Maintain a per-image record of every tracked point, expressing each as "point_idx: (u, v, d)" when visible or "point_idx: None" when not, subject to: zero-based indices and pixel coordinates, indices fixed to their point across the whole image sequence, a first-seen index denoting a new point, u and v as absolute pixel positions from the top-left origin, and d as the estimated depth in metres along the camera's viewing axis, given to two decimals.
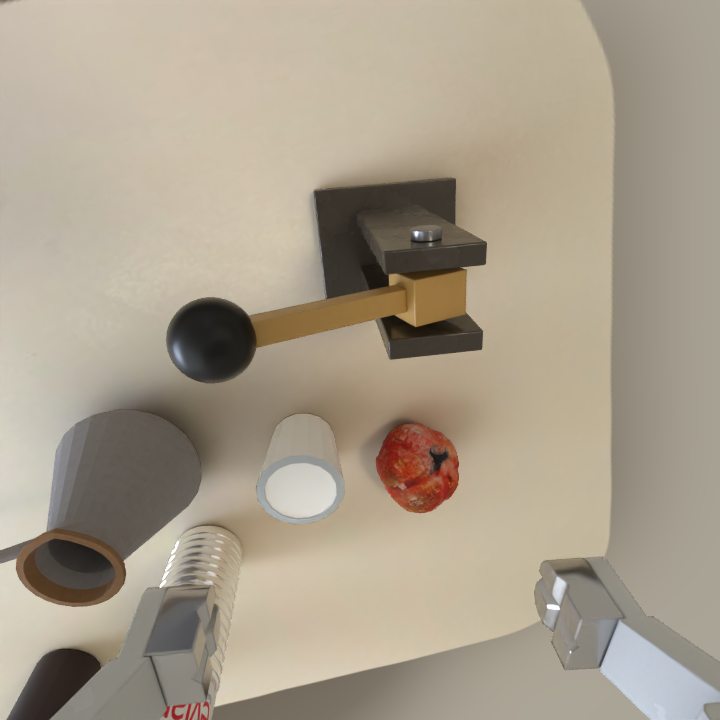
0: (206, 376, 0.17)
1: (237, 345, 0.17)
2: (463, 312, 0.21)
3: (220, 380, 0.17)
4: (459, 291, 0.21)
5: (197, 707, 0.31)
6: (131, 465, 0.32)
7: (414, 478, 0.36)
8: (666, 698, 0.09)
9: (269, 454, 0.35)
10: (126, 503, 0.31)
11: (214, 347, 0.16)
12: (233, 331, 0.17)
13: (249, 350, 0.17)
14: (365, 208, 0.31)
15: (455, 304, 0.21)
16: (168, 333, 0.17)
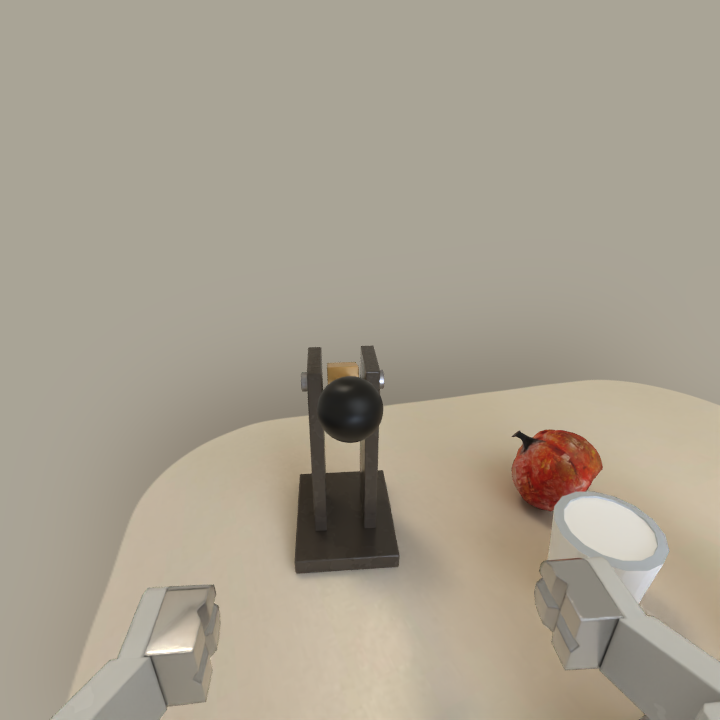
0: (367, 386, 0.22)
1: None
2: (353, 362, 0.34)
3: (374, 387, 0.23)
4: None
5: None
6: None
7: (551, 448, 0.38)
8: (666, 698, 0.09)
9: None
10: None
11: (343, 378, 0.23)
12: None
13: None
14: (314, 524, 0.37)
15: (347, 363, 0.34)
16: (336, 412, 0.21)
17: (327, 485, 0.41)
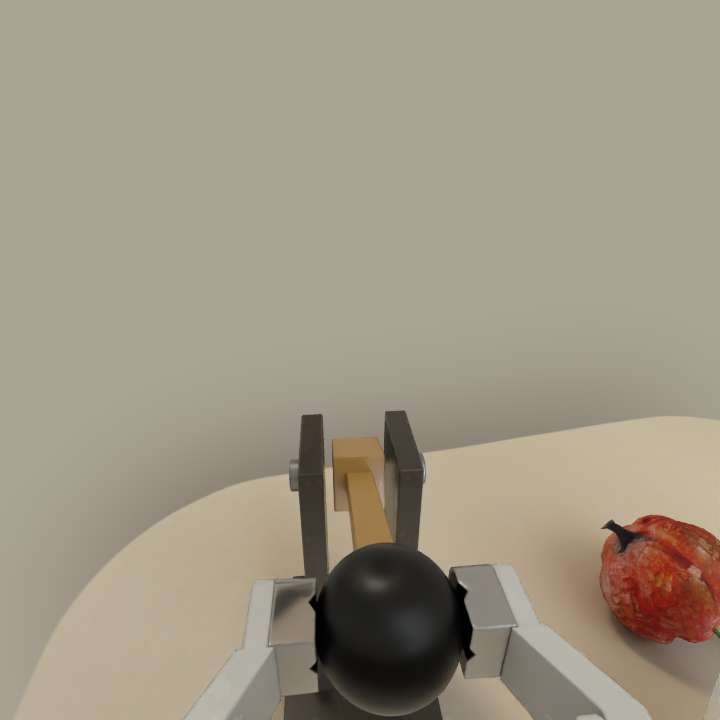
0: (431, 583, 0.10)
1: (376, 543, 0.11)
2: (374, 437, 0.21)
3: (442, 575, 0.10)
4: (352, 439, 0.21)
5: None
6: None
7: (669, 555, 0.25)
8: (554, 709, 0.09)
9: None
10: None
11: (372, 558, 0.10)
12: (354, 550, 0.11)
13: None
14: None
15: (365, 440, 0.21)
16: (361, 667, 0.09)
17: None
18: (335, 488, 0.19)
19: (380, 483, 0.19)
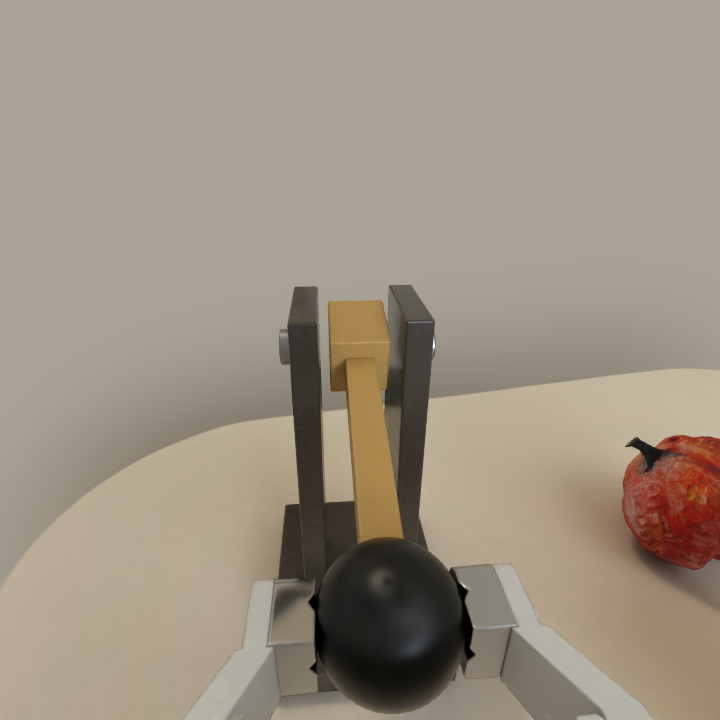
0: (441, 622, 0.09)
1: (382, 554, 0.10)
2: (378, 301, 0.18)
3: (452, 599, 0.09)
4: (352, 305, 0.18)
5: None
6: None
7: (703, 467, 0.23)
8: (554, 709, 0.09)
9: None
10: None
11: (378, 592, 0.09)
12: (357, 560, 0.10)
13: (398, 541, 0.10)
14: None
15: (368, 308, 0.18)
16: (361, 699, 0.09)
17: (328, 523, 0.26)
18: (332, 371, 0.17)
19: (383, 368, 0.17)
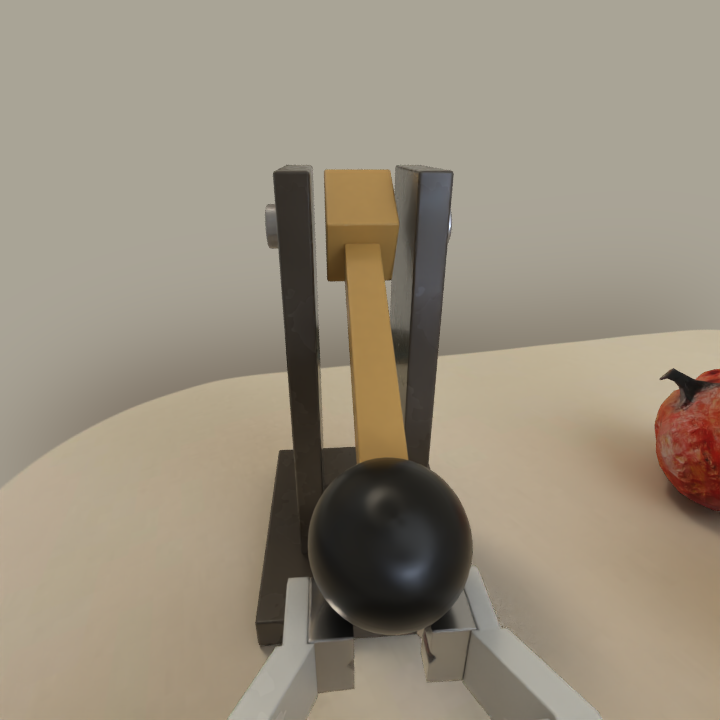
0: (447, 556, 0.08)
1: (384, 483, 0.08)
2: (386, 171, 0.15)
3: (461, 530, 0.08)
4: (354, 175, 0.14)
5: None
6: None
7: None
8: (511, 713, 0.09)
9: None
10: None
11: (380, 527, 0.08)
12: (357, 487, 0.09)
13: (402, 465, 0.09)
14: (300, 540, 0.19)
15: (372, 179, 0.14)
16: (359, 625, 0.08)
17: (326, 468, 0.23)
18: (329, 258, 0.14)
19: (388, 255, 0.14)
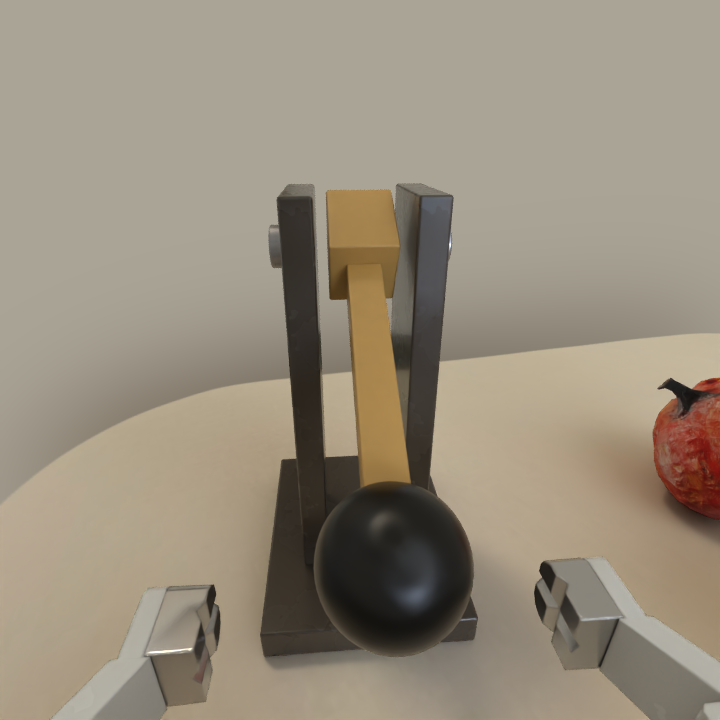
0: (449, 582, 0.08)
1: (388, 509, 0.09)
2: (387, 191, 0.15)
3: (462, 555, 0.09)
4: (355, 196, 0.15)
5: None
6: None
7: None
8: (666, 698, 0.09)
9: None
10: None
11: (384, 553, 0.08)
12: (361, 514, 0.09)
13: (405, 491, 0.09)
14: (303, 551, 0.19)
15: (373, 200, 0.15)
16: (364, 647, 0.09)
17: (328, 477, 0.23)
18: (331, 278, 0.15)
19: (390, 275, 0.15)
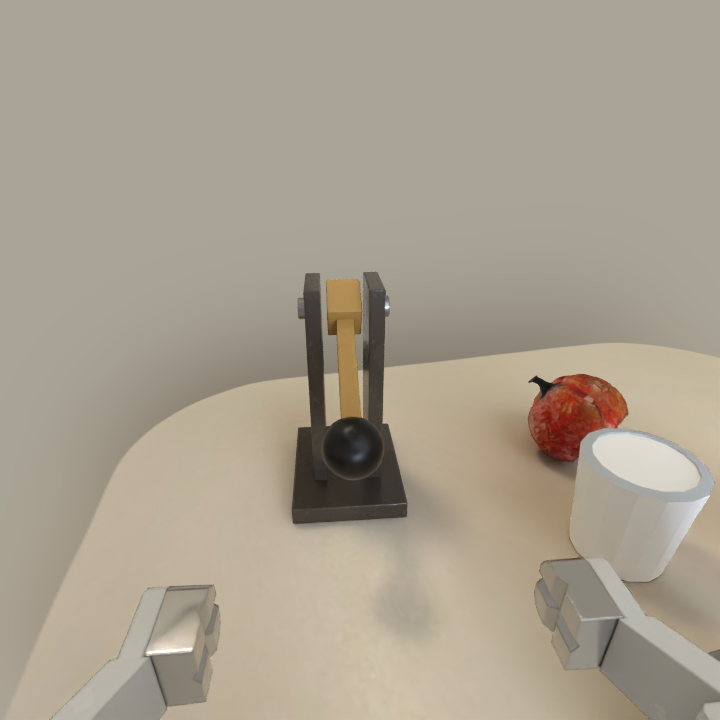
0: (371, 448, 0.23)
1: (349, 423, 0.23)
2: (357, 280, 0.29)
3: (377, 440, 0.23)
4: (340, 283, 0.29)
5: None
6: None
7: (572, 391, 0.35)
8: (666, 698, 0.09)
9: (622, 518, 0.25)
10: None
11: (347, 437, 0.23)
12: (339, 425, 0.23)
13: (357, 418, 0.24)
14: (313, 474, 0.34)
15: (350, 286, 0.29)
16: (340, 474, 0.23)
17: None
18: (328, 325, 0.29)
19: (358, 323, 0.29)
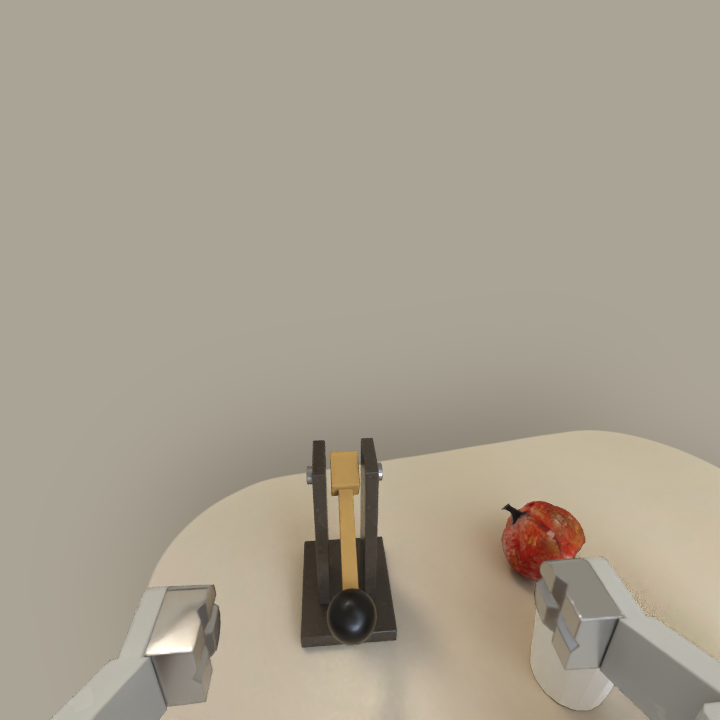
0: (366, 623, 0.29)
1: (349, 601, 0.30)
2: (355, 452, 0.36)
3: (371, 615, 0.29)
4: (342, 456, 0.35)
5: None
6: None
7: (537, 524, 0.41)
8: (666, 698, 0.09)
9: None
10: None
11: (347, 616, 0.29)
12: (341, 602, 0.30)
13: (355, 594, 0.30)
14: (318, 597, 0.40)
15: (350, 458, 0.35)
16: (342, 642, 0.29)
17: (330, 553, 0.44)
18: (332, 491, 0.35)
19: (356, 490, 0.35)
